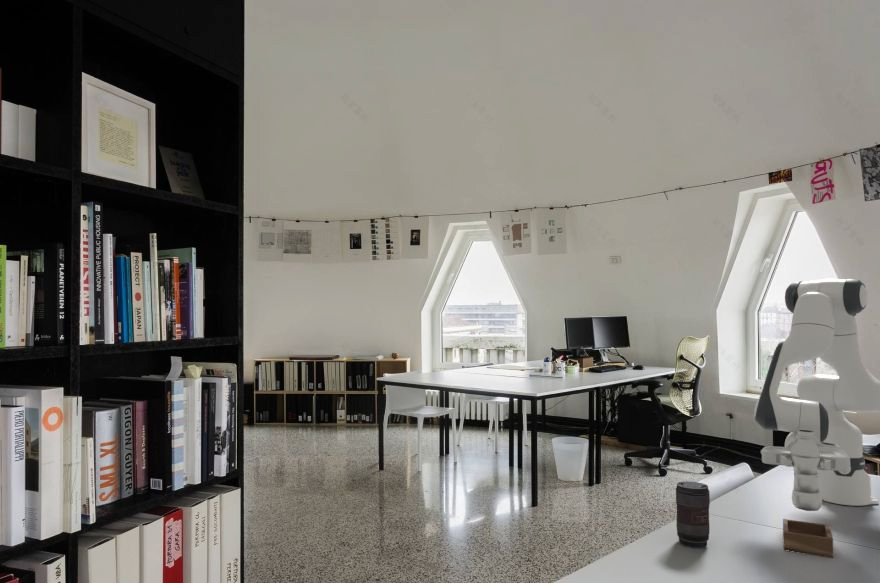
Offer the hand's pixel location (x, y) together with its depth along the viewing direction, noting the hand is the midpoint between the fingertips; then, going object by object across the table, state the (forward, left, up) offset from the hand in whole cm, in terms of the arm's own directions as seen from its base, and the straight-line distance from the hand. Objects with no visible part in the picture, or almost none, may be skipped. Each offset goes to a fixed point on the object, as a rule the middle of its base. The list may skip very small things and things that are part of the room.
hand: (805, 465), depth 163 cm
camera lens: (+10, -26, -21) cm, 35 cm away
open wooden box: (-1, 0, -21) cm, 21 cm away
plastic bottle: (-1, 0, -12) cm, 12 cm away
